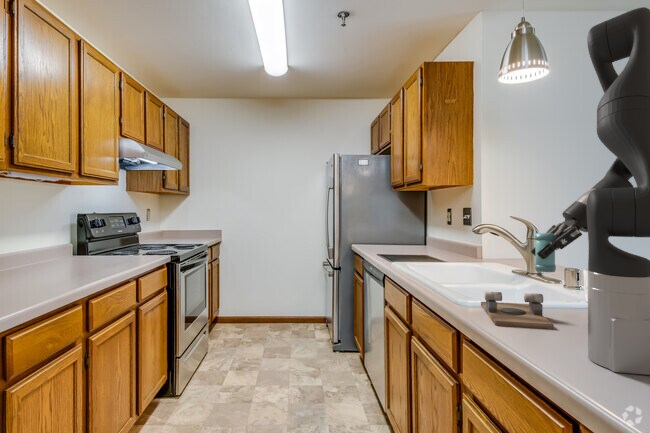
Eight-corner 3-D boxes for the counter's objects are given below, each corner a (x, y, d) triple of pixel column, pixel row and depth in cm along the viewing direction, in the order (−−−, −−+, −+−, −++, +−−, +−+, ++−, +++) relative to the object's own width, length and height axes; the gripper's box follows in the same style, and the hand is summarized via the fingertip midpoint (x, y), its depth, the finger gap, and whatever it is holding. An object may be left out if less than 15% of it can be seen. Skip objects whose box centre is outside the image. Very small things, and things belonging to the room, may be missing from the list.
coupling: (558, 272, 88) (558, 234, 88) (538, 272, 90) (538, 234, 89) (551, 269, 93) (551, 233, 93) (532, 269, 94) (532, 233, 94)
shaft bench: (555, 329, 83) (555, 303, 83) (493, 325, 87) (492, 300, 86) (530, 308, 101) (530, 286, 100) (479, 305, 104) (479, 284, 104)
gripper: (565, 201, 96) (517, 243, 99) (590, 199, 82) (534, 248, 85) (587, 219, 95) (538, 261, 98) (616, 221, 81) (558, 270, 84)
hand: (536, 255), depth 92 cm, fingers closed on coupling, 4 cm apart
